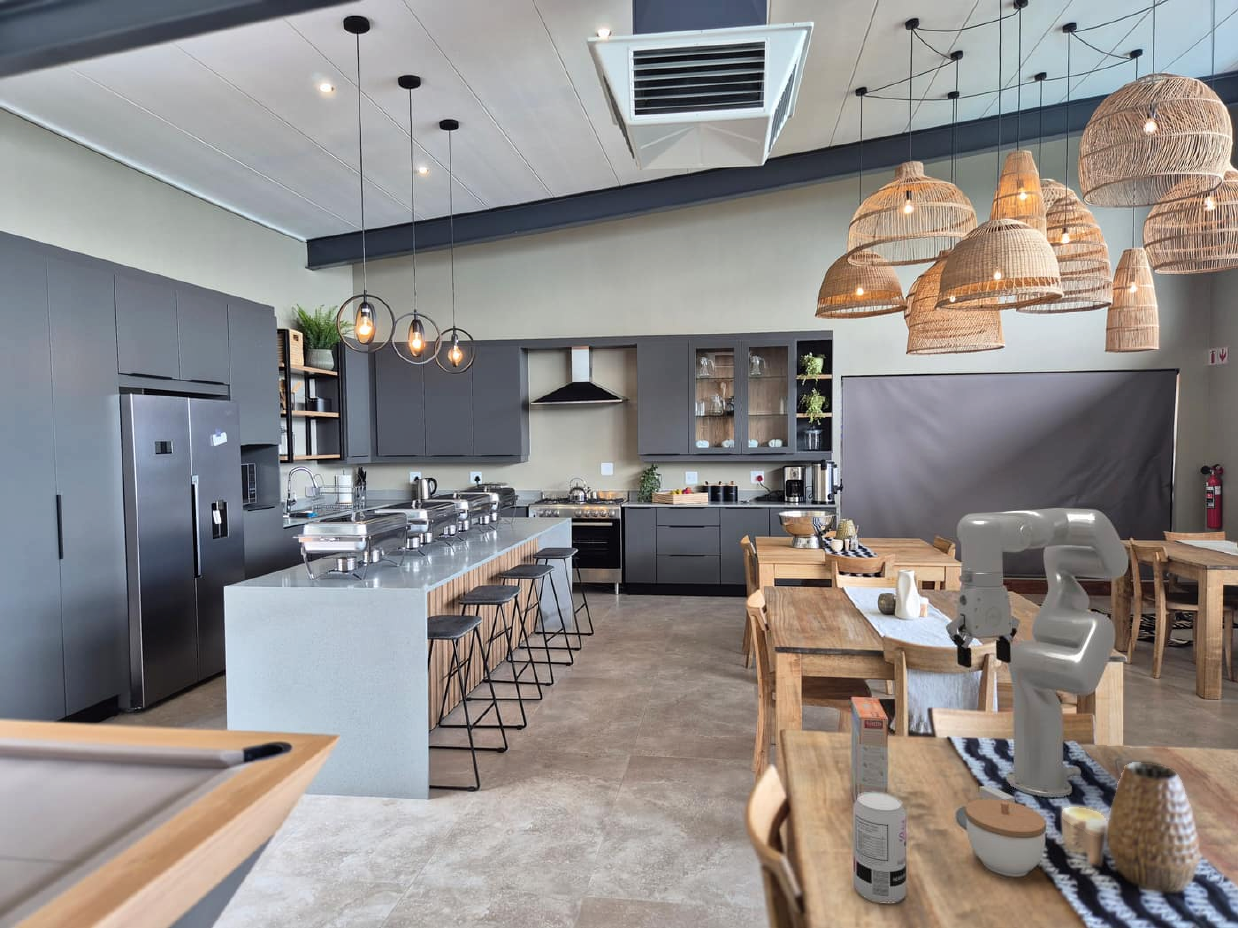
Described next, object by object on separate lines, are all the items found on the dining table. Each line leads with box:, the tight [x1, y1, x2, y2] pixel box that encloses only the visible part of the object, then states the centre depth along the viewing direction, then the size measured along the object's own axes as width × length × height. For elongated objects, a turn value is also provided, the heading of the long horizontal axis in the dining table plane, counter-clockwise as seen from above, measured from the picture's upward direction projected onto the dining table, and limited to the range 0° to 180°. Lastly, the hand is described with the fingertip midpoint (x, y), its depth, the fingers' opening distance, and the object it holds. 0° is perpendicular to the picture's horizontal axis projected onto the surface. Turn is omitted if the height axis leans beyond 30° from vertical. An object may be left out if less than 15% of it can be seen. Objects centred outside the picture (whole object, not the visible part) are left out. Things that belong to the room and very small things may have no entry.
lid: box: [955, 784, 1016, 831], centre depth 147 cm, size 15×15×6 cm
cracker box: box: [850, 696, 889, 803], centre depth 154 cm, size 14×6×21 cm, turn 168°
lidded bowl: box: [965, 798, 1047, 878], centre depth 131 cm, size 13×13×11 cm
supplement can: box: [852, 792, 907, 903], centre depth 123 cm, size 8×8×15 cm
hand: (984, 663), depth 151 cm, fingers open, 9 cm apart
